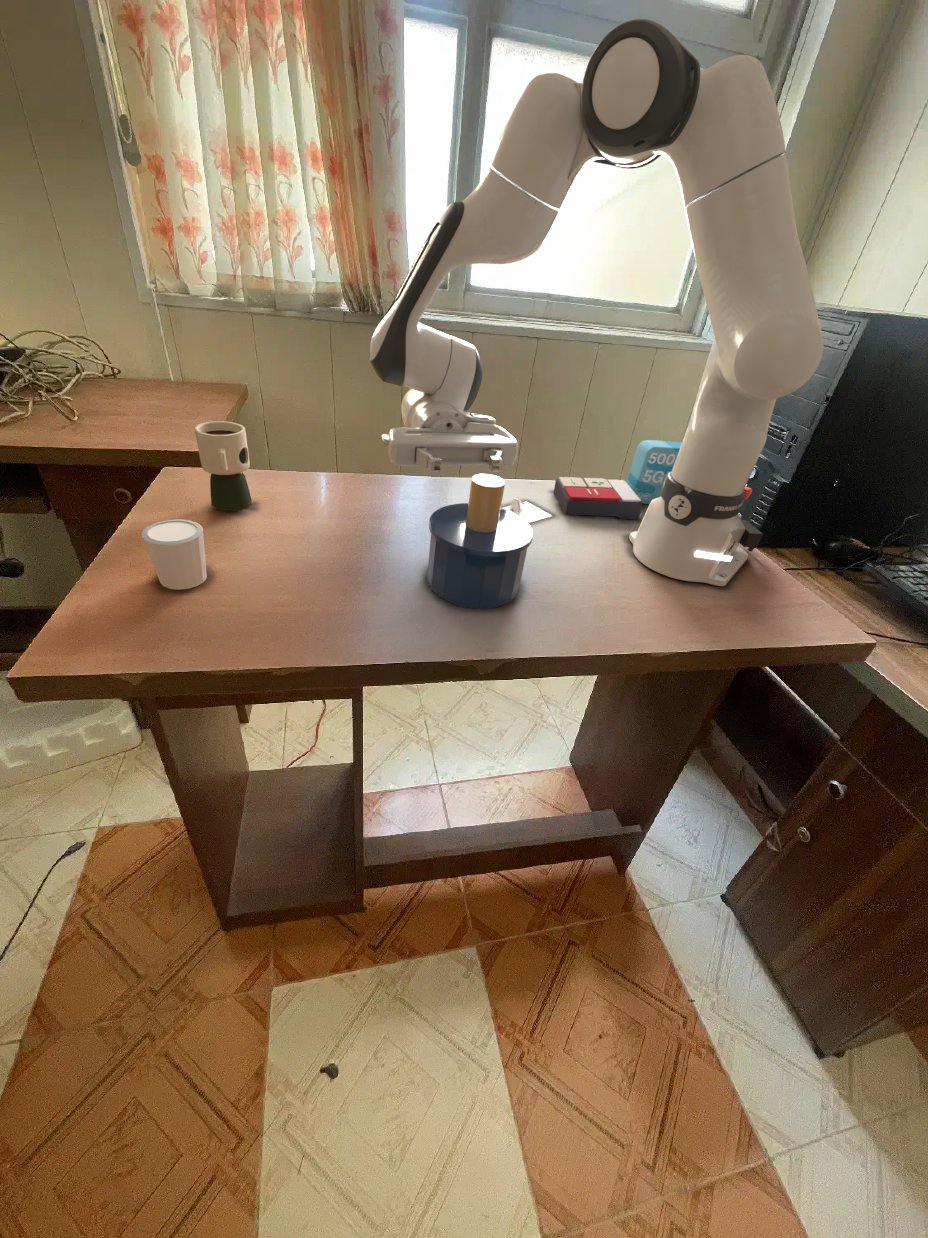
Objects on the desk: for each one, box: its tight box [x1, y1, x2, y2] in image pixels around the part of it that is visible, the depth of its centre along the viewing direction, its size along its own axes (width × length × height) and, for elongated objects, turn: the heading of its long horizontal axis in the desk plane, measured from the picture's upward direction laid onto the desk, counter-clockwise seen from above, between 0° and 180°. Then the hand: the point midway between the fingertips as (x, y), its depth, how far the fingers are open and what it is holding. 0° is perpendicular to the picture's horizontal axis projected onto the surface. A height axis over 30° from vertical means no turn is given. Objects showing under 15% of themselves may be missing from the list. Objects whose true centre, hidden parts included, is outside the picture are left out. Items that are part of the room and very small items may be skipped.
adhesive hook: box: [508, 497, 526, 516], centre depth 97 cm, size 3×3×3 cm
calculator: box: [553, 476, 644, 520], centre depth 105 cm, size 11×4×15 cm
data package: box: [625, 439, 682, 505], centre depth 109 cm, size 12×4×12 cm, turn 98°
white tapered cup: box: [141, 518, 208, 591], centre depth 67 cm, size 7×7×7 cm
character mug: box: [194, 420, 253, 512], centre depth 83 cm, size 11×7×13 cm, turn 19°
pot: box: [426, 533, 528, 610], centre depth 75 cm, size 13×13×8 cm
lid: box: [428, 473, 534, 557], centre depth 70 cm, size 14×14×8 cm
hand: (467, 466), depth 75 cm, fingers open, 8 cm apart
